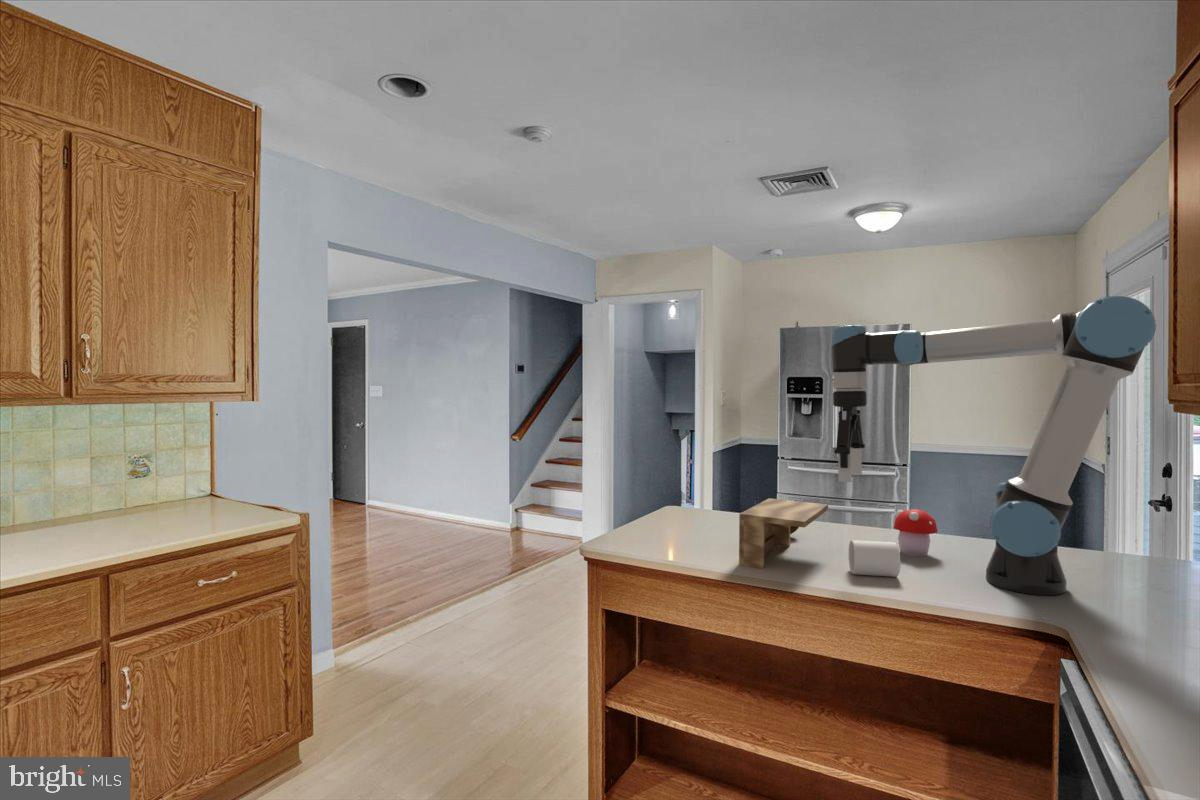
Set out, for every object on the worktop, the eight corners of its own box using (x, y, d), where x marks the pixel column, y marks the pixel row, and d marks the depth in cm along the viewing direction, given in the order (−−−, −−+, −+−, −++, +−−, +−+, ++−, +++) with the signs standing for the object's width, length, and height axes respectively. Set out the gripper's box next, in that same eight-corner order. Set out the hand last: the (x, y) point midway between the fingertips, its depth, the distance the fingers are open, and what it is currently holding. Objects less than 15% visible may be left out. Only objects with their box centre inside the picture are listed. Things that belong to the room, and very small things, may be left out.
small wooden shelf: (827, 552, 168) (828, 504, 168) (803, 575, 148) (804, 521, 148) (768, 543, 177) (769, 498, 176) (738, 564, 157) (739, 513, 156)
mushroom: (901, 545, 175) (901, 503, 175) (943, 553, 167) (944, 508, 167) (886, 552, 168) (887, 508, 167) (930, 561, 160) (931, 515, 159)
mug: (900, 581, 144) (900, 547, 144) (854, 578, 146) (855, 544, 146) (887, 566, 156) (887, 534, 156) (845, 563, 158) (845, 532, 158)
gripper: (843, 389, 163) (844, 470, 163) (821, 391, 142) (822, 484, 142) (874, 389, 159) (875, 472, 159) (856, 390, 138) (857, 486, 138)
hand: (850, 478), depth 151 cm, fingers open, 13 cm apart
